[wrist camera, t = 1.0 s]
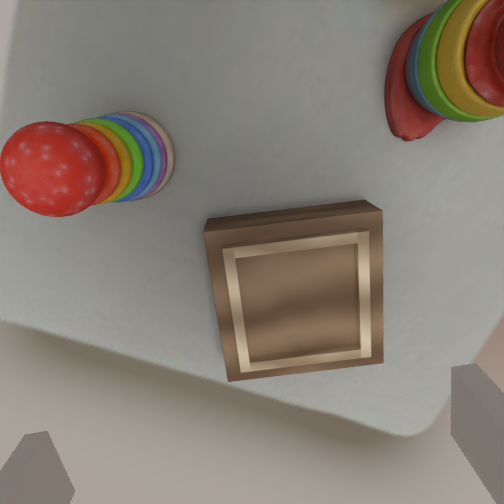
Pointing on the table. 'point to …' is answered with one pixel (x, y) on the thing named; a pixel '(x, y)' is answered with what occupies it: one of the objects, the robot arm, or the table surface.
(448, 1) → the stacking bear
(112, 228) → the table surface
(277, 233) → the plinth
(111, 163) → the stacking toy
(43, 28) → the table surface
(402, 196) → the table surface
